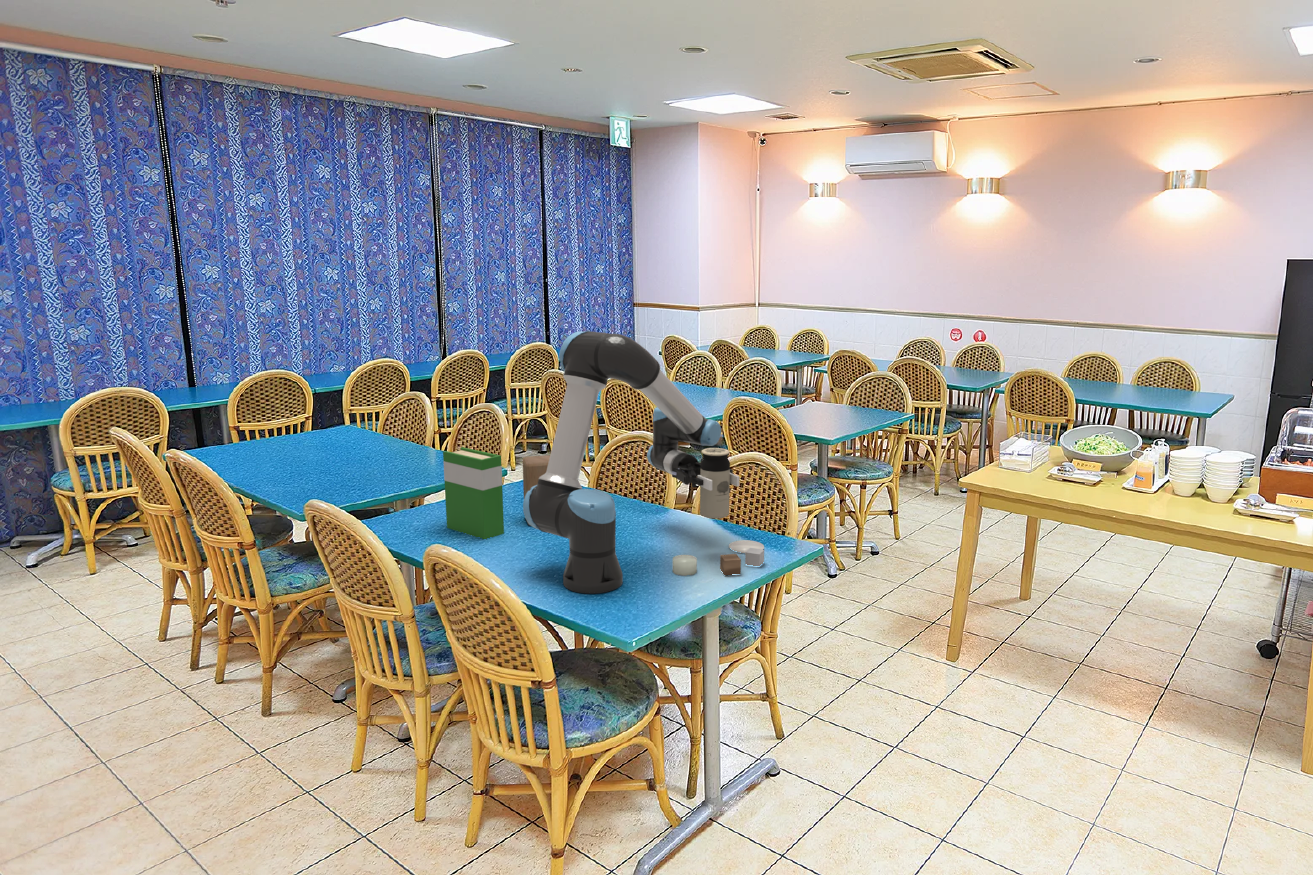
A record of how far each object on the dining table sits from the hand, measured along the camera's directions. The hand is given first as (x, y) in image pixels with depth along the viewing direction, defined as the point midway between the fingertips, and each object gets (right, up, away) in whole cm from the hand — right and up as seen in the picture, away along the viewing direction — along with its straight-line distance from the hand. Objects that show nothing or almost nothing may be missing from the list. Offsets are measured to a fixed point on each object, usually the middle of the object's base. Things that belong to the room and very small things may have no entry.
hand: (724, 483), depth 230 cm
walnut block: (+1, -23, -3) cm, 24 cm away
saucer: (+7, -19, +15) cm, 26 cm away
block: (-54, -14, +40) cm, 69 cm away
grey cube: (+8, -22, +2) cm, 24 cm away
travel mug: (-2, -9, +6) cm, 11 cm away
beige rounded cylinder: (-11, -23, -2) cm, 26 cm away
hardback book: (-73, -16, +30) cm, 81 cm away
